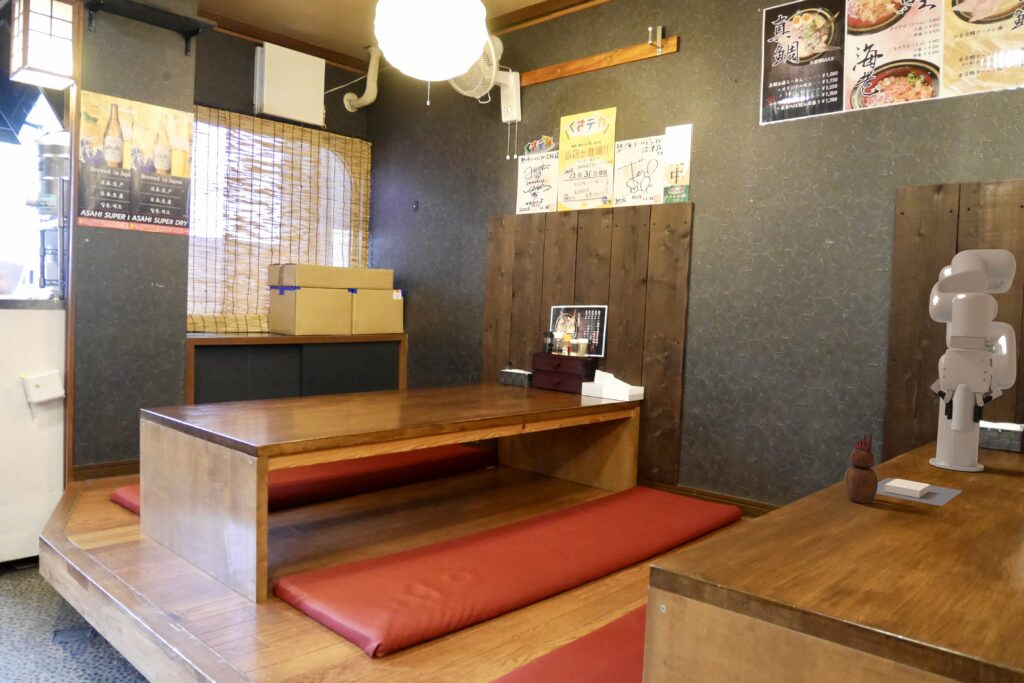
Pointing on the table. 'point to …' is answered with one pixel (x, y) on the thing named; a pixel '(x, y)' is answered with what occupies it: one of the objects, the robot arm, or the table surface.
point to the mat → (932, 497)
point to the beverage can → (963, 410)
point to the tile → (907, 488)
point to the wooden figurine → (861, 473)
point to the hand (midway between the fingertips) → (963, 419)
